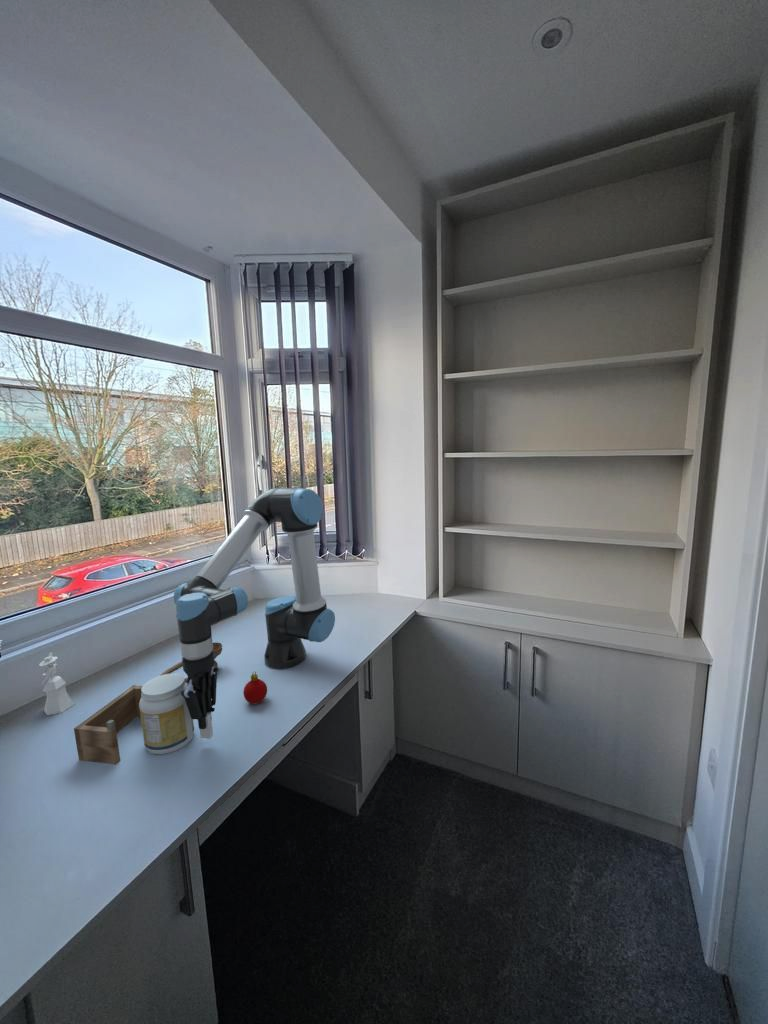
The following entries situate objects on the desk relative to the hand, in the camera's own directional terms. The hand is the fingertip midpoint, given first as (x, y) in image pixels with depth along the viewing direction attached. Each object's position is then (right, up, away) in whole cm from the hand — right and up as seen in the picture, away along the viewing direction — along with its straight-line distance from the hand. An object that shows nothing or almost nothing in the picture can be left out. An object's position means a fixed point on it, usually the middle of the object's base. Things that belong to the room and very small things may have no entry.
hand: (206, 736), depth 113 cm
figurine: (-55, -2, +20) cm, 58 cm away
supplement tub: (-11, -3, +2) cm, 11 cm away
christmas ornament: (+7, +1, +19) cm, 21 cm away
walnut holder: (-25, -3, +5) cm, 25 cm away
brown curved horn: (-20, +2, +39) cm, 44 cm away
